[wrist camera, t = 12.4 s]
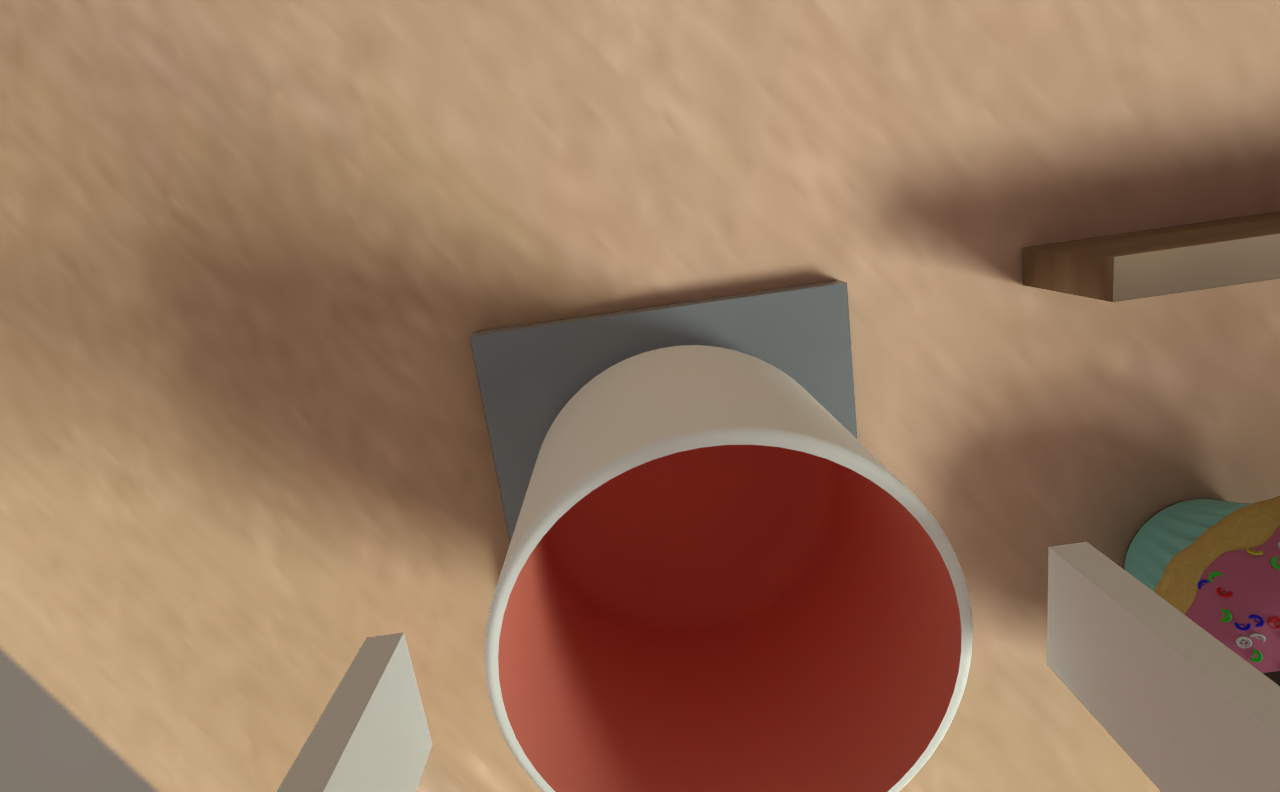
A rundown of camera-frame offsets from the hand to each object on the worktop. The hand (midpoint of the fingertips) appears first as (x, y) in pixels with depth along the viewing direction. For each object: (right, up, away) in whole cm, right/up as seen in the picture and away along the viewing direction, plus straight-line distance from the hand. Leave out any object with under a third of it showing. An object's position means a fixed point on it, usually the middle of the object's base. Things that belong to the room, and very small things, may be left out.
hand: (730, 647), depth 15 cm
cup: (0, +2, +10) cm, 10 cm away
